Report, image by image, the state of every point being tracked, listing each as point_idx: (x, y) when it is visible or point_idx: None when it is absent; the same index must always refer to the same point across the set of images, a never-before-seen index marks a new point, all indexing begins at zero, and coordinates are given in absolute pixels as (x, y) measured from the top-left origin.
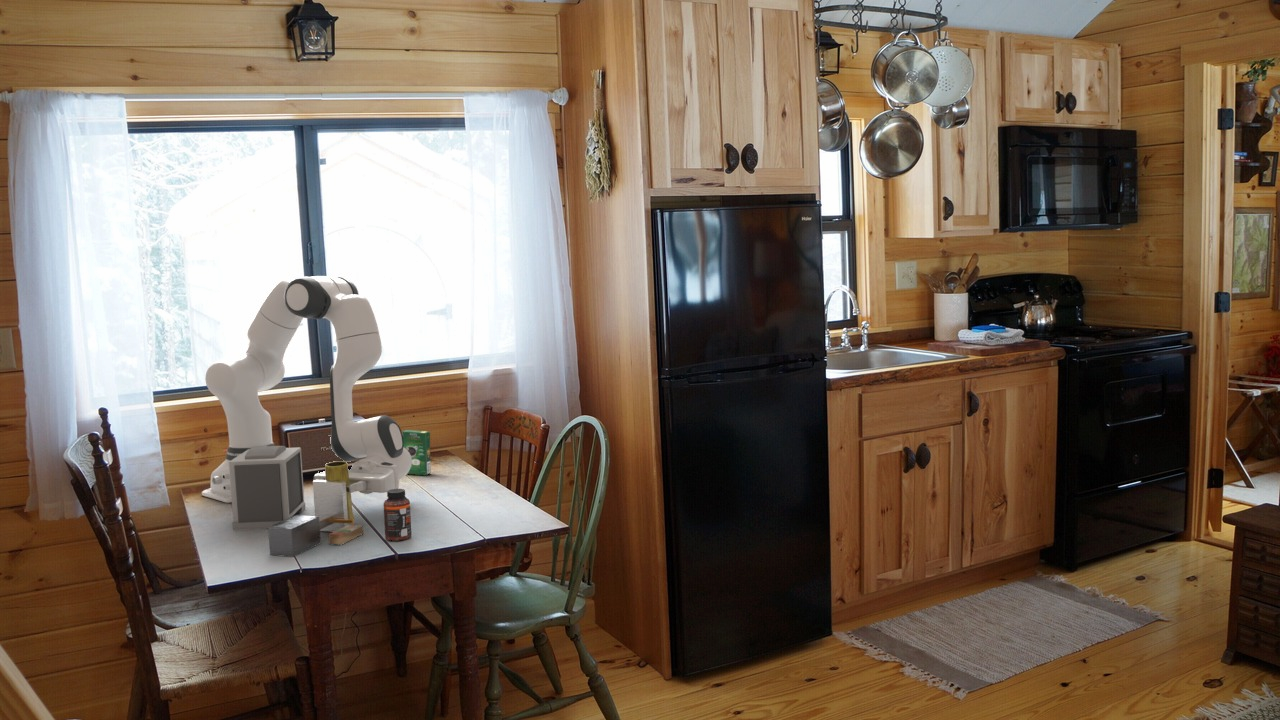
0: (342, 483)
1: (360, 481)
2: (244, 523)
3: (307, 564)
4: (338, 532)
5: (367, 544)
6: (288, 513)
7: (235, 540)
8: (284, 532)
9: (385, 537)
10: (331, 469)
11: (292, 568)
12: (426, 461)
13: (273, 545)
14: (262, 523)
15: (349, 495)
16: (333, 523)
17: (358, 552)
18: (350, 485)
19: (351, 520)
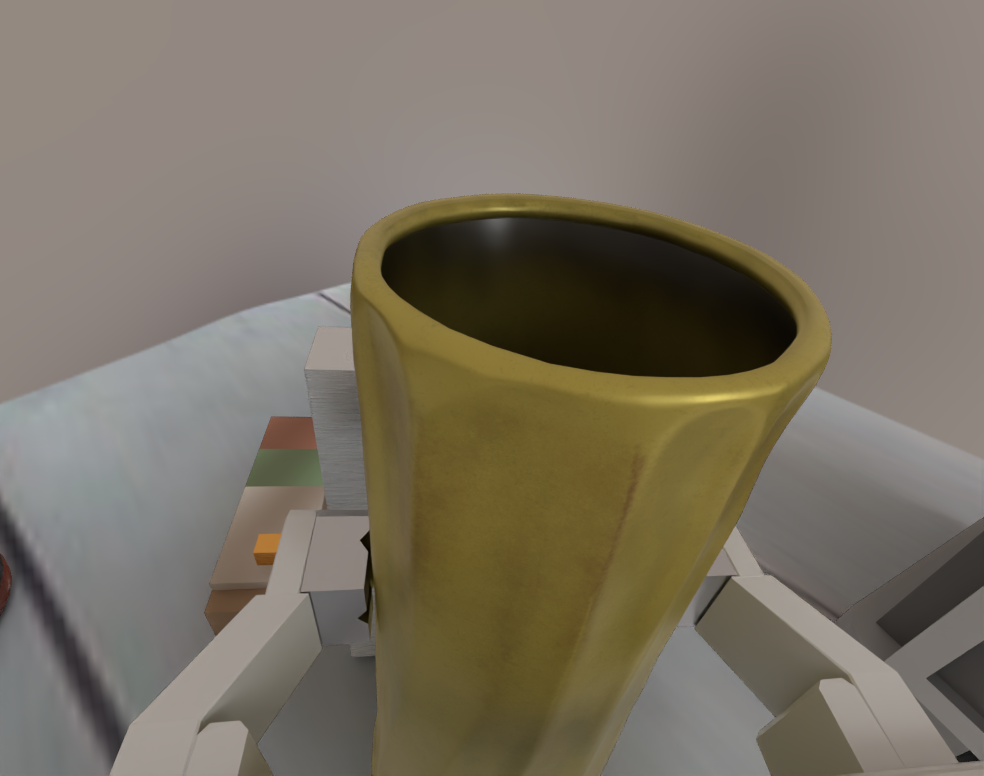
0: (318, 341)
1: (199, 762)
2: (968, 528)
3: (313, 308)
4: (303, 442)
5: (134, 488)
6: (912, 648)
7: None
8: None
9: (8, 569)
10: (520, 243)
11: (342, 288)
12: None
13: None
14: (914, 564)
15: (383, 663)
16: None
17: (156, 401)
18: (305, 519)
19: (270, 537)
